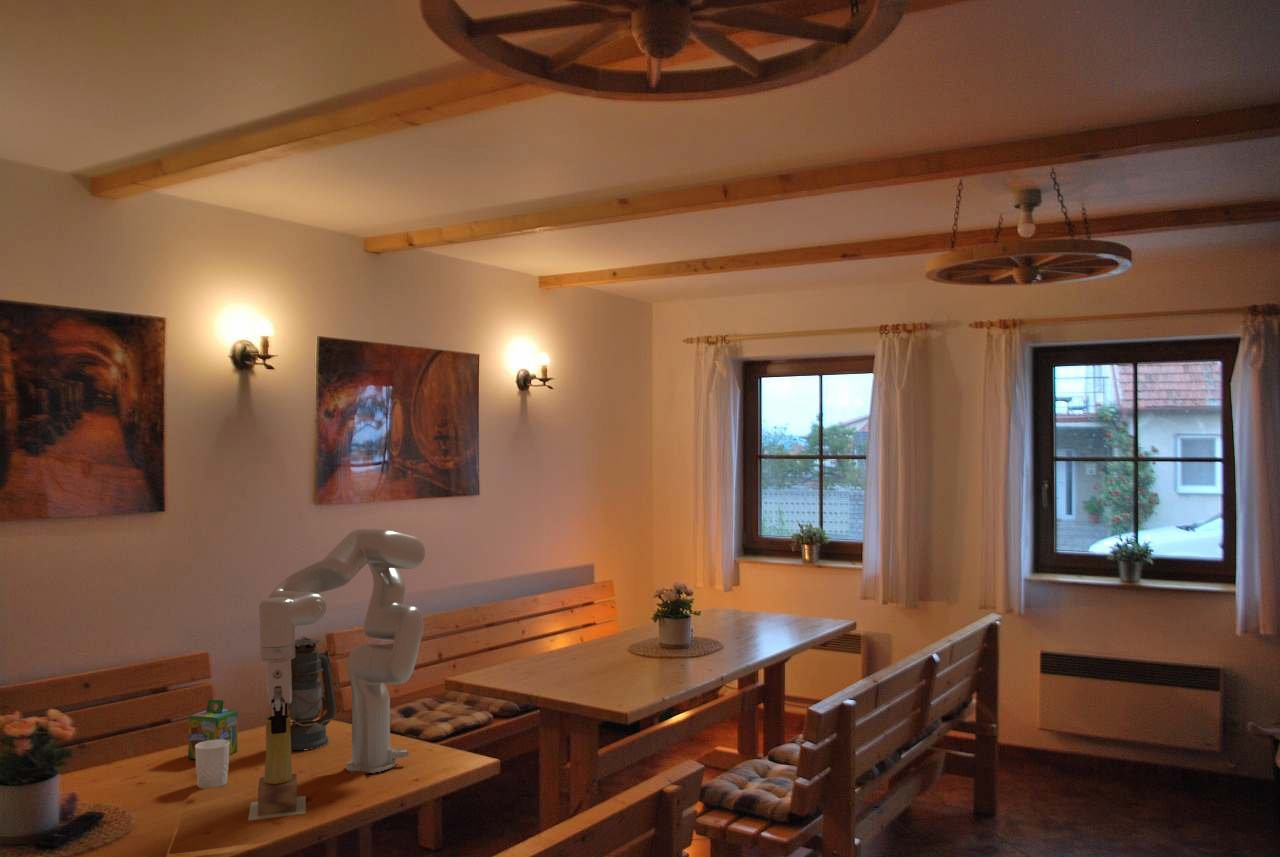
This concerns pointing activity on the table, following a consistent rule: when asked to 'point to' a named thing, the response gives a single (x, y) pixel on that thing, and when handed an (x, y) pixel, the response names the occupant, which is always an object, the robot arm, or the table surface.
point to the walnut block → (277, 797)
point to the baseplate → (299, 810)
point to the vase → (278, 755)
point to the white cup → (212, 763)
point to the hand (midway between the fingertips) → (279, 726)
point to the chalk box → (213, 727)
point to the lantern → (310, 696)
